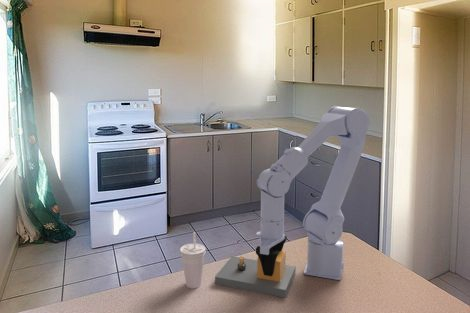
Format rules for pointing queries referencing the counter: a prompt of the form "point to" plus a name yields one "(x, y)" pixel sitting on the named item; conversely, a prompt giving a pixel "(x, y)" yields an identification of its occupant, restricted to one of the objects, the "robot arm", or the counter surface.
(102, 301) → the counter surface
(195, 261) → the smoothie
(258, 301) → the counter surface
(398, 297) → the counter surface
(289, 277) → the flat grey tile
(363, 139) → the robot arm
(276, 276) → the amber cube
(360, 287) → the counter surface
